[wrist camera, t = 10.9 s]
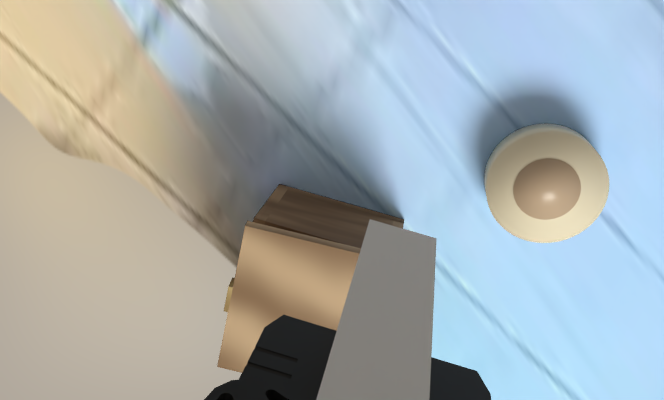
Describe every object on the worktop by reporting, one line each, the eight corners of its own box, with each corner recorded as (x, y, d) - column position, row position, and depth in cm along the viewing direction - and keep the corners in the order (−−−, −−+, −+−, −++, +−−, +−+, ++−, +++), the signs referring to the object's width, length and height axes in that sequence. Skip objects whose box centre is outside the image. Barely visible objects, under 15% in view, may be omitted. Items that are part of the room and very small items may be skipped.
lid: (244, 217, 41) (240, 224, 40) (398, 254, 41) (398, 263, 40) (217, 355, 45) (213, 365, 44) (356, 388, 46) (356, 399, 44)
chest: (277, 183, 48) (251, 217, 42) (404, 219, 48) (397, 259, 41) (251, 301, 52) (224, 348, 46) (368, 336, 52) (357, 389, 45)
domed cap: (504, 110, 43) (508, 118, 41) (618, 140, 43) (629, 150, 41) (469, 212, 47) (471, 225, 44) (575, 241, 46) (582, 256, 44)
